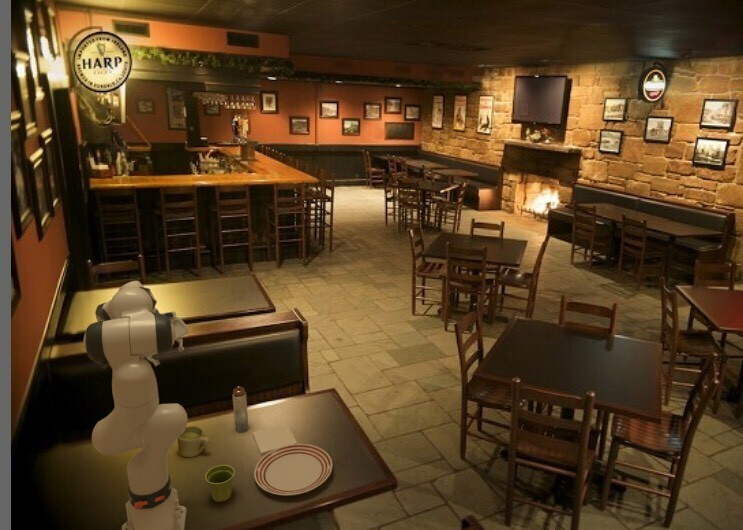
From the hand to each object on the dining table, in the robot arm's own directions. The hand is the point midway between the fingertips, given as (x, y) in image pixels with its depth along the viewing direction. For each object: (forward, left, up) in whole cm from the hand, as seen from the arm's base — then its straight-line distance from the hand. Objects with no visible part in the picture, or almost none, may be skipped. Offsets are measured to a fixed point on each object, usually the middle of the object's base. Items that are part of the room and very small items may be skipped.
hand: (170, 357), depth 181 cm
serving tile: (-8, -34, -39) cm, 52 cm away
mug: (-2, -5, -40) cm, 40 cm away
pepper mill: (+5, -24, -39) cm, 46 cm away
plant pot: (-30, -10, -40) cm, 51 cm away
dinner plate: (-30, -35, -40) cm, 61 cm away
